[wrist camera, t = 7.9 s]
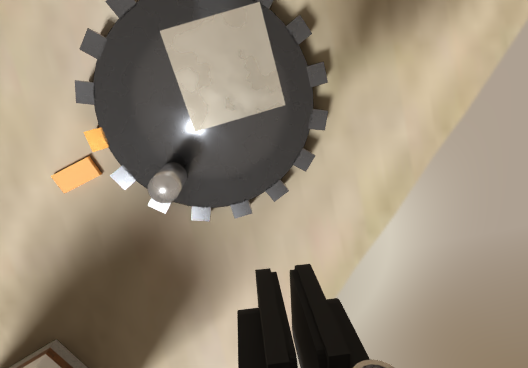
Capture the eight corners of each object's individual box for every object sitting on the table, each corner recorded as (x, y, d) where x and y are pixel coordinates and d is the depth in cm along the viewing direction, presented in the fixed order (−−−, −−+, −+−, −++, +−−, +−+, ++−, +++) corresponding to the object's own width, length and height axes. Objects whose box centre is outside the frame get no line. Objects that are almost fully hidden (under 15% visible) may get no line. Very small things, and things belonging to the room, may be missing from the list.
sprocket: (364, 60, 29) (400, 51, 22) (254, 244, 33) (259, 279, 27) (145, -89, 24) (115, -152, 18) (51, 152, 28) (1, 169, 22)
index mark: (89, 156, 29) (87, 157, 28) (102, 173, 29) (99, 175, 29) (53, 174, 29) (50, 176, 29) (66, 192, 30) (64, 193, 29)
